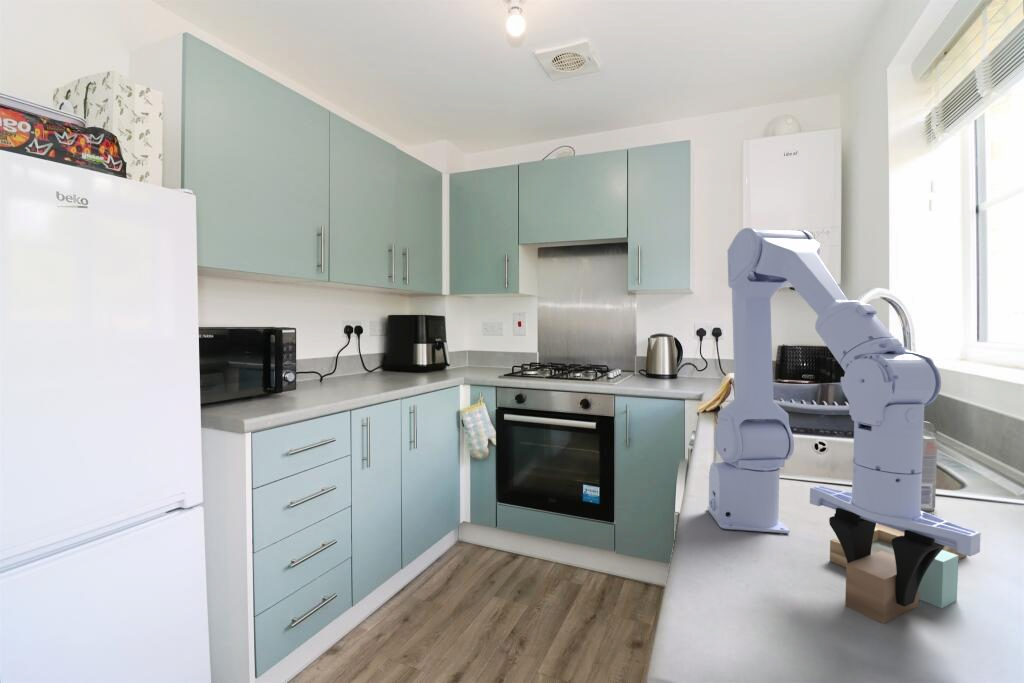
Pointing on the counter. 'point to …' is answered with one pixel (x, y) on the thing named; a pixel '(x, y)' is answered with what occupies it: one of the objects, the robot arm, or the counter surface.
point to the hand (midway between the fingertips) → (882, 592)
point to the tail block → (940, 580)
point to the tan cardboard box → (875, 587)
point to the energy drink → (928, 473)
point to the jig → (875, 545)
